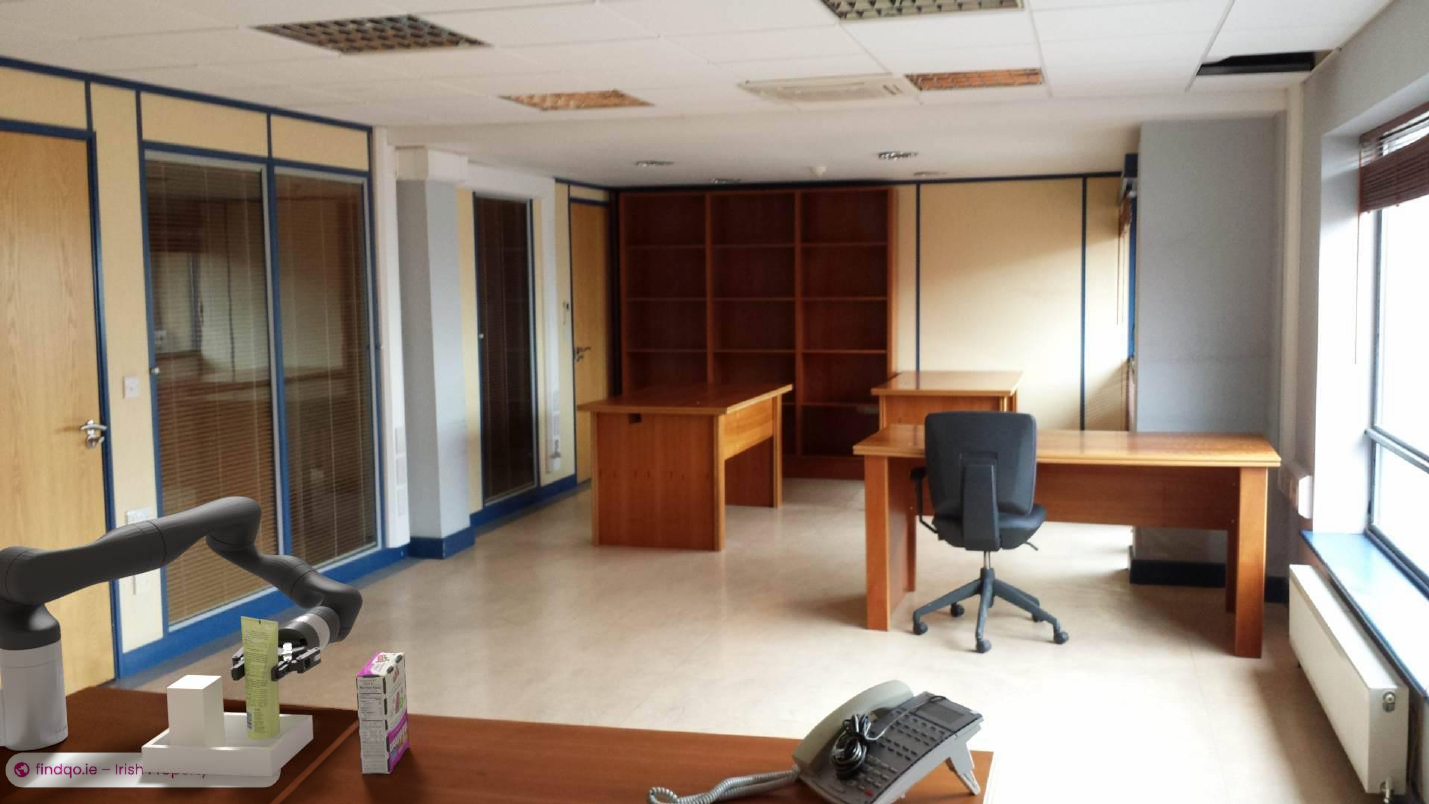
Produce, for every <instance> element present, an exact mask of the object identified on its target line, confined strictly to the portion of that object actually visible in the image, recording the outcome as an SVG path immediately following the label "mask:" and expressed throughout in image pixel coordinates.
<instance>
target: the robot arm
mask: <svg viewBox="0 0 1429 804" xmlns="http://www.w3.org/2000/svg"><path fill="white" fill-rule="evenodd" d="M262 515H263V511H262V507H261V505H260V503H259V502H257V500H255V499H252V498H250V497H245V496H226V497H222V498H219V499H216V500H212V501H210V502H206V503H204V504H201V505H198V506H196V507H193V508H190V509H186V510H183V511H180V512H175V513H173V514H168V515H165V516H161V517H156V518H153V519H147V520H146V519H145V520H142V521H138V522H134V523H130V524H126V525H122V526H118V527H116V528H113V529H111V530H110V531H107V532H106V533H105V534H103V535H102V536H100V537H99V538H97V539H95V541H93V542H90V543H87V544H82V545H78V546H74V547H67V548H59V549H42V548H35V547H28V546H24V545H23V546H22V545H15V546H14V545H13V546H8V547H5V548H3V549H1V550H0V747H5V748H7V749H8V750H11V751H12V750H13V751H29V750H30V751H31V750H32V751H33V750H38V749H43V748H48V747H49V746H53V745H56V744H58V743H60V742H63V741H64V740H65V739H66V738H67V737H68V735H69V732H68V718H67V717H68V716H67V704H66V703H67V700H66V689H65V688H66V686H65V685H66V684H65V673H64V671H65V669H64V659H63V658H64V657H63V646H62V631H61V624H60V622H59V621H58V619H57V618H56V617H54V616H53V614H51V613H50V611H49V610H48V608H47V606H46V604H48V603H51V602H53V601H56V600H58V599H61V598H63V597H66V596H68V595H71V594H73V593H76V592H78V591H81V590H83V589H86V588H89V587H92V586H94V585H99V584H103V583H107V582H112V581H117V580H120V579H125V578H128V577H129V578H130V577H134V576H137V575H142V574H144V573H148V572H151V571H156V570H158V569H162V568H164V567H166V566H168V565H169V564H171V563H173V562H174V561H175V560H178V558H179V557H180V556H181V555H183V554H184V553H185V552H187V551H188V550H189V549H190V548H191V547H193V546H194V545H195V544H197V543H198V542H199V541H200V540H201V539H203V538H204V537H205V544H206V545H207V547H208V548H209V549H210V550H211V551H212V552H214V553H215V554H216V555H218V556H219V557H222V558H223V559H224V560H227V561H228V562H230V563H232V564H233V565H234V566H235V565H236V566H237V567H238V568H241V569H243V570H245V571H246V572H249V573H251V574H253V575H254V576H256V577H258V578H260V579H262V580H264V581H265V582H267V583H269V584H271V585H272V586H273V587H274V588H276V589H277V590H278V591H279V592H281V593H282V594H283V595H284V596H286V597H287V598H289V600H291V601H292V602H293V603H294V604H296V605H297V606H298V607H300V608H302V609H309V610H307V611H305V612H304V613H303V614H301V615H300V616H297V617H295V618H293V619H292V620H290V621H289V622H286V623H285V624H284V625H283V626H281V627H280V628H278V664H277V665H275V666H274V667H273V668H272V669H271V681H273V682H277V681H278V682H279V680H281V679H283V678H284V677H285V676H290V675H292V674H293V672H296V673H297V674H304V673H306V672H307V671H309V670H312V669H313V668H315V667H316V666H317V665H319V664H321V663H322V653H321V652H322V651H323V649H324V648H325V647H326V646H327V647H328V645H329V644H333V643H340V642H342V641H344V640H345V639H347V637H348V636H349V634H350V633H351V631H352V630H353V627H354V624H355V623H356V620H357V618H358V616H359V613H360V611H361V609H362V607H363V601H364V599H363V596H362V594H361V592H360V591H359V590H358V589H357V588H355V587H353V586H351V585H349V584H346V583H343V582H340V581H337V580H334V579H332V578H329V577H327V576H325V575H323V574H322V573H320V572H319V571H318V570H317V569H315V568H314V567H312V566H311V565H310V564H309V563H307V562H306V561H305V560H303V559H301V558H300V557H296V556H293V555H290V554H289V555H288V554H278V555H276V554H273V555H272V554H271V555H270V554H264V553H263V552H262V551H261V550H259V549H258V547H256V544H255V543H256V538H257V536H258V532H259V529H260V526H261V521H262ZM319 604H320V605H319ZM317 605H319V606H317ZM231 661H232V667H231V668H230V675H231V678H232V681H235V682H237V681H240V680H241V679H243V678H245V670H244V654H243V646H241V648H239V649H238V650H237V652H236V653H234V654H233V655H232V657H231Z"/></svg>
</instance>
